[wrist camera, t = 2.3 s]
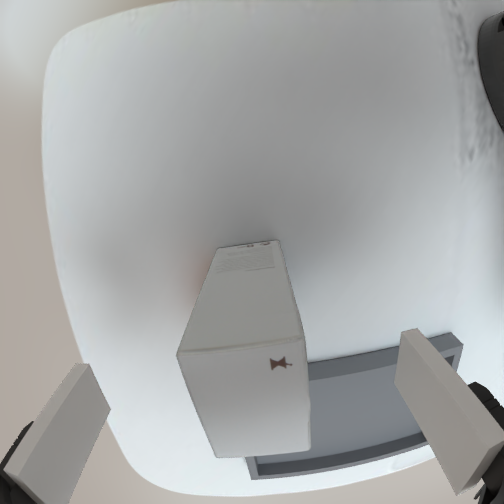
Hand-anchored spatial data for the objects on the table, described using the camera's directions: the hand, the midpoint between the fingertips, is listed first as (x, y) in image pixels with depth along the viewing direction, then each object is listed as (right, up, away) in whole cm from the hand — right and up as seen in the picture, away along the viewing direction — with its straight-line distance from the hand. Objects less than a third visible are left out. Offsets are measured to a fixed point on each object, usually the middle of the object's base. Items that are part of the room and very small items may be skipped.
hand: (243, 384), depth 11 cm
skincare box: (0, +3, +10) cm, 11 cm away
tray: (+9, -10, +13) cm, 19 cm away
